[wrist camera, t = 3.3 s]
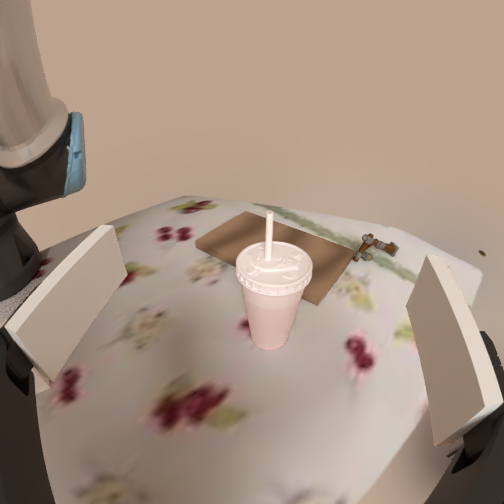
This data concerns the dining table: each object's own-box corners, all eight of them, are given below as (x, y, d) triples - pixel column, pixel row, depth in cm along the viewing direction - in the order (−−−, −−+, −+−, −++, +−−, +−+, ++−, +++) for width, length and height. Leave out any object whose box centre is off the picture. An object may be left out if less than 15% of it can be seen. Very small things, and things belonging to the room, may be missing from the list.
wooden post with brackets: (346, 255, 40) (362, 228, 38) (378, 263, 43) (392, 240, 41) (353, 262, 38) (369, 235, 36) (385, 270, 42) (400, 246, 40)
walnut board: (196, 247, 42) (195, 240, 42) (245, 217, 50) (245, 211, 50) (317, 305, 33) (319, 298, 32) (353, 257, 40) (354, 250, 40)
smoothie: (249, 308, 32) (249, 191, 24) (305, 320, 31) (324, 202, 23) (229, 351, 27) (219, 227, 19) (292, 367, 26) (314, 243, 18)
